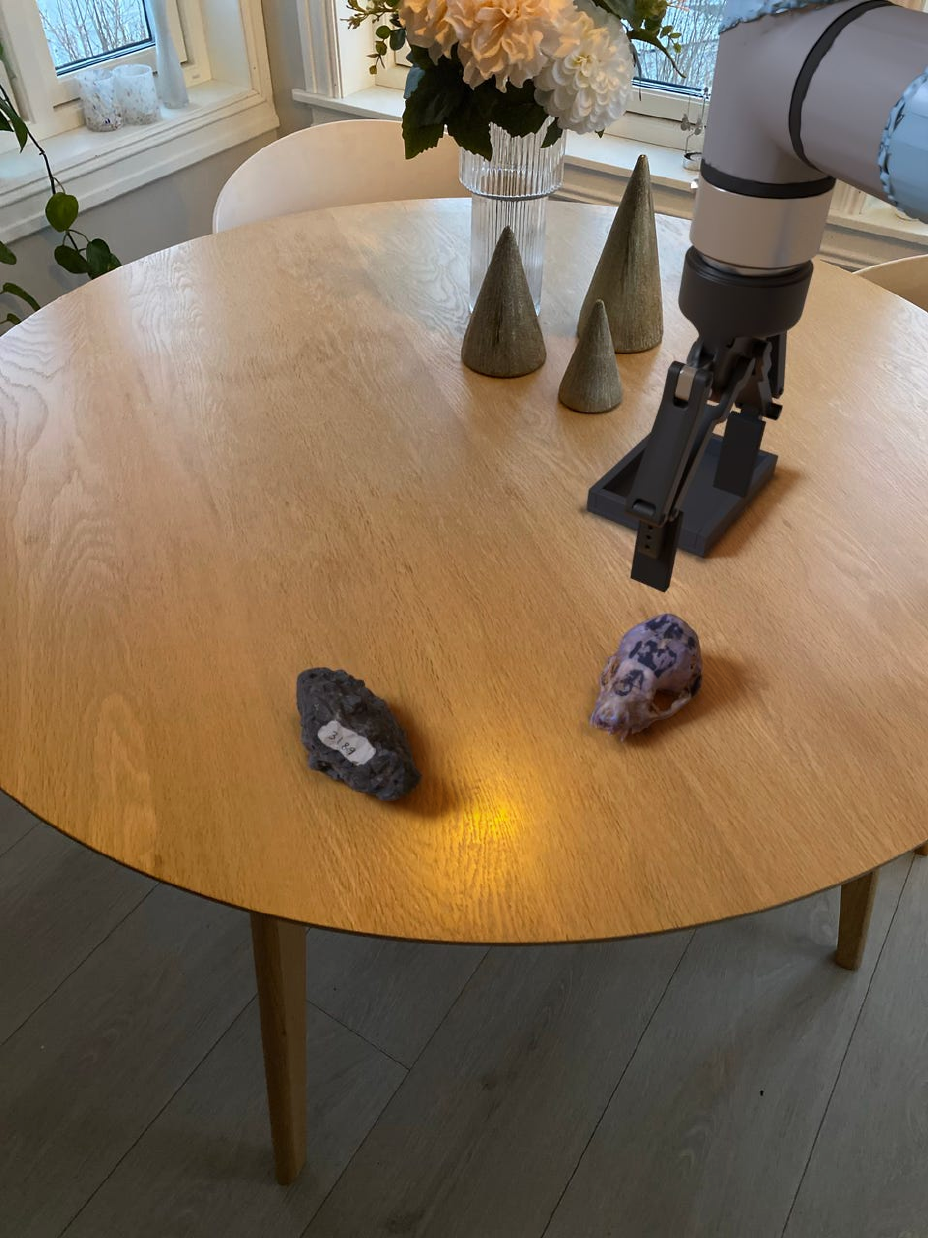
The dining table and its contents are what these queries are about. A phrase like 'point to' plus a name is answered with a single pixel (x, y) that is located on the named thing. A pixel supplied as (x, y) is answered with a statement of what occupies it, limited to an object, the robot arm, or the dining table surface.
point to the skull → (648, 674)
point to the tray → (701, 504)
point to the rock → (354, 735)
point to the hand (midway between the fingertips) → (692, 534)
